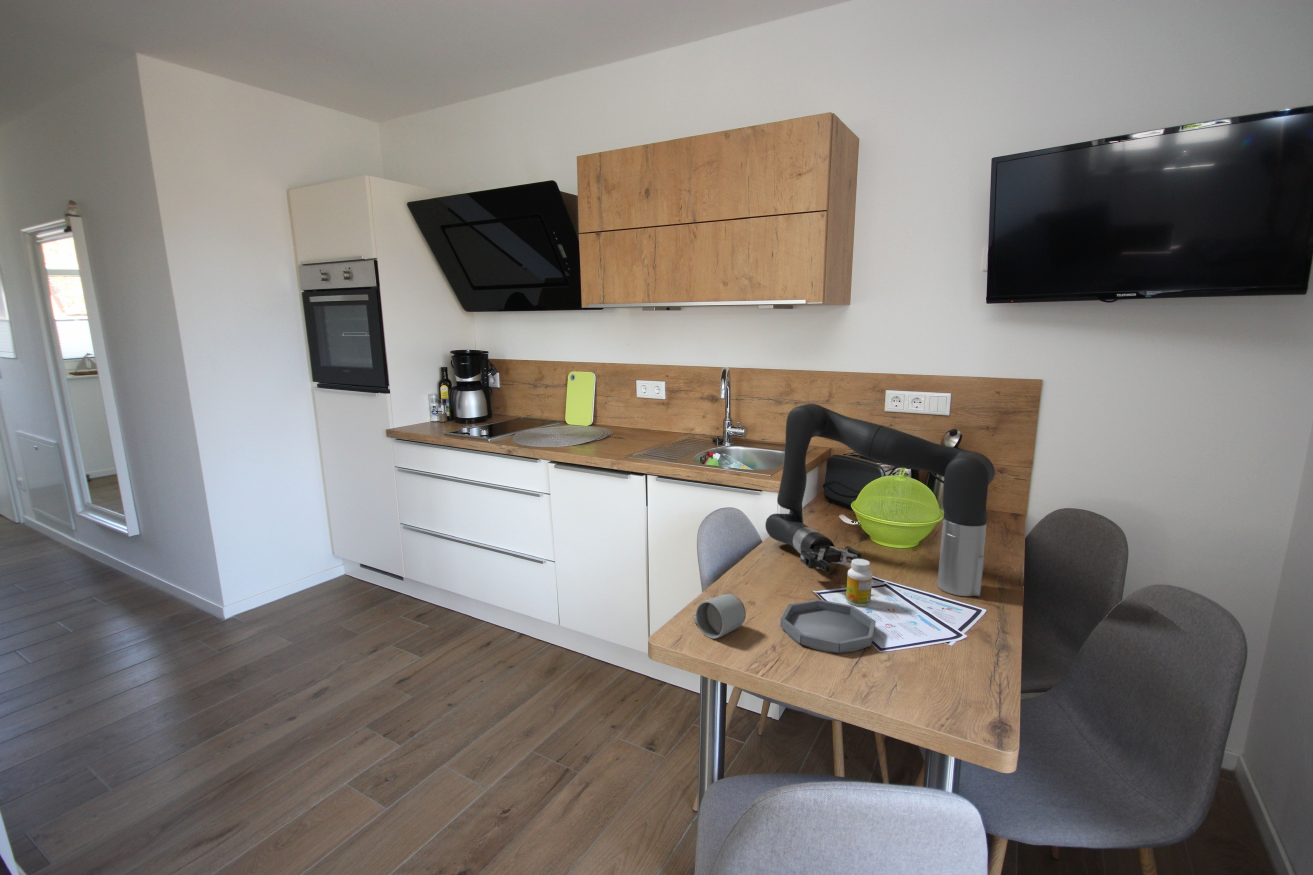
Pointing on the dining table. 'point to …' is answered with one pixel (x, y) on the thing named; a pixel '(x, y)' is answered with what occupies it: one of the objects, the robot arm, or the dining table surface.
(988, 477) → the robot arm
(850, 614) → the dish
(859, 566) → the supplement bottle
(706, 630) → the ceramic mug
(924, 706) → the dining table surface
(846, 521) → the fork
